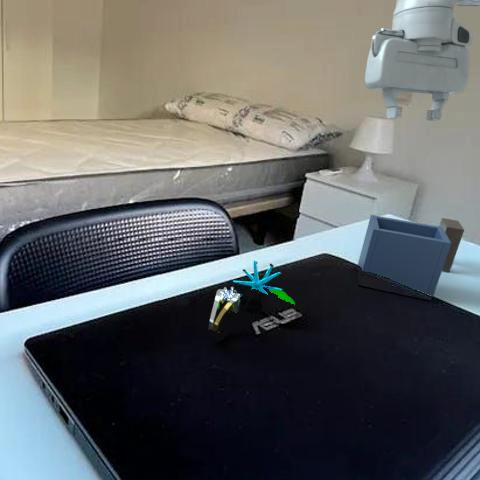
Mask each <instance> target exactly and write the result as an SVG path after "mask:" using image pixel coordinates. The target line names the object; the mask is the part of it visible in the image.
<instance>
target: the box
mask: <svg viewBox="0 0 480 480" xmlns="http://www.w3.org/2000/svg"><path fill="white" fill-rule="evenodd" d="M450 245H451V242H450V240H449V238H448V237H447V235H446V233H445V231H444V229H443V227H439V226H438V225H433V224H432V225H431V224H427V223H421V222H415V221H410V220H409V221H408V220H403V219H397V218H391V217H386V216H381V215H375V214H370V217H369V221H368V224H367V228H366V231H365V236H364V239H363V243H362V247H361V250H360V254H359V257H358V262H357V265H359V266H360V267H361V268H362V271H365V272H371V273H374V274H377V275H380V276H383V277H386V278H389V279H391V280H394V281H396V282H399V283H401V284H404V285H407V286H409V287H411V288H414V289H416V290H419V291H421V292H424V293H426V294H429V295H431V296H433V297H434V295H435V292H436V289H437V287H438V284H439V280H440V278H441V274H442V272H443V271H442V269H443V266H444V263H445V260H446V257H447V254H448V251H449V248H450Z"/></svg>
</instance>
